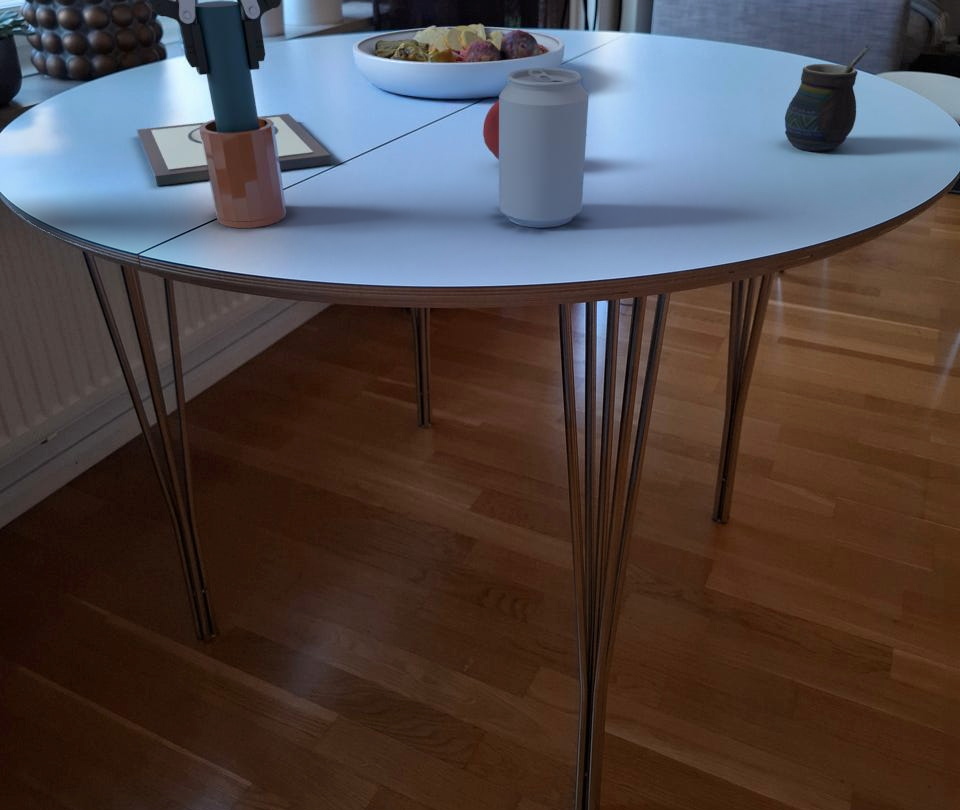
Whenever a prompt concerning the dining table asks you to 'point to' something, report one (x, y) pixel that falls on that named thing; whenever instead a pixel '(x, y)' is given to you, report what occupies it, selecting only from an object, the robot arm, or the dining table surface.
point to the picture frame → (182, 153)
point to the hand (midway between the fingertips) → (227, 69)
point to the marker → (227, 66)
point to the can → (542, 146)
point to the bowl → (453, 59)
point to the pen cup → (244, 175)
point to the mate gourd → (823, 106)
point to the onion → (492, 130)
